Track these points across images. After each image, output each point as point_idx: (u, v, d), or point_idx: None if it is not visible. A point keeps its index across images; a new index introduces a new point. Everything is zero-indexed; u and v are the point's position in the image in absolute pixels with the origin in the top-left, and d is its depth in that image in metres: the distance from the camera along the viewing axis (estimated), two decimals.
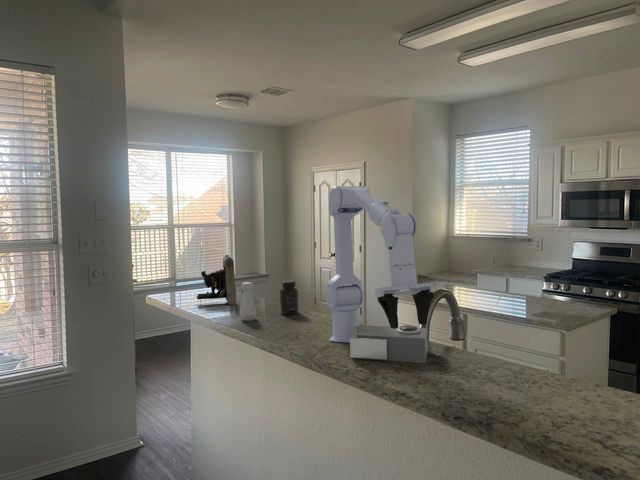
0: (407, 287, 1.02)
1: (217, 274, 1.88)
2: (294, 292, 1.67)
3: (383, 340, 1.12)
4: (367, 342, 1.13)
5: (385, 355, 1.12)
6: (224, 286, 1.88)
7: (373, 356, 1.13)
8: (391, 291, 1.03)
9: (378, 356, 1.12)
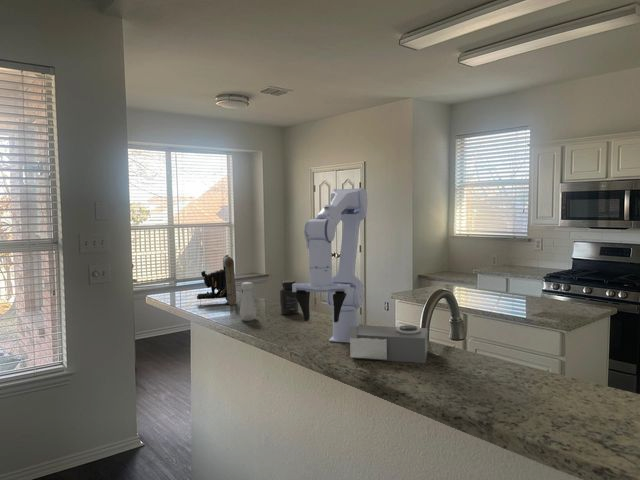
0: (313, 288, 1.13)
1: (217, 274, 1.88)
2: (294, 292, 1.67)
3: (383, 340, 1.12)
4: (367, 342, 1.13)
5: (385, 355, 1.12)
6: (224, 286, 1.88)
7: (373, 356, 1.13)
8: (306, 288, 1.16)
9: (378, 356, 1.12)
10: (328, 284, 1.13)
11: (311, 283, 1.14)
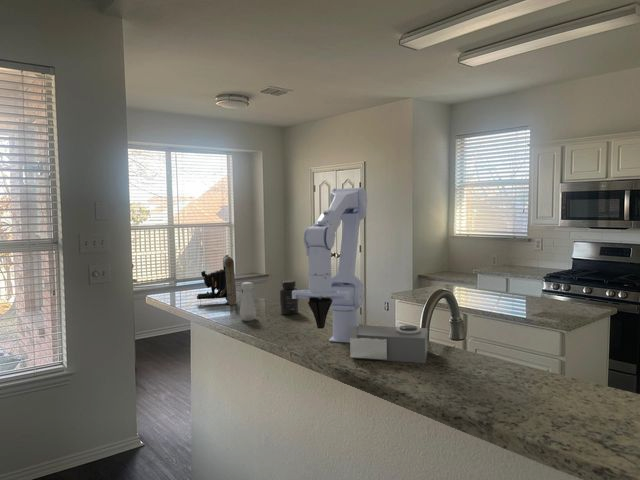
0: None
1: (217, 274, 1.88)
2: None
3: (383, 340, 1.12)
4: (367, 342, 1.13)
5: (385, 355, 1.12)
6: (224, 286, 1.88)
7: (373, 356, 1.13)
8: (305, 295, 1.17)
9: (378, 356, 1.12)
10: (327, 291, 1.14)
11: (310, 290, 1.14)
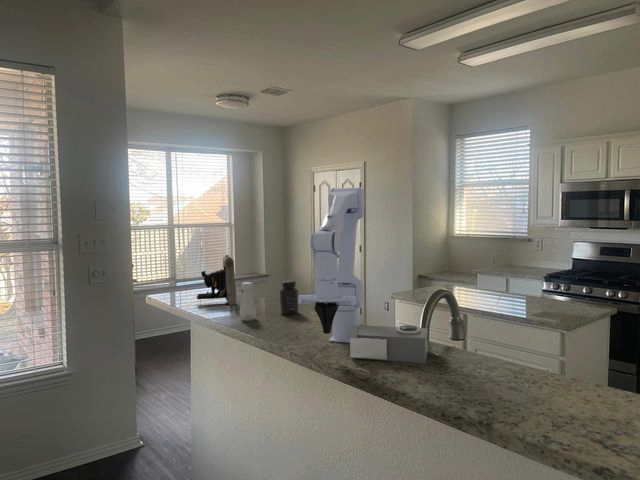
0: (318, 300, 1.13)
1: (217, 274, 1.88)
2: (294, 292, 1.67)
3: (383, 340, 1.12)
4: (367, 342, 1.13)
5: (385, 355, 1.12)
6: (224, 286, 1.88)
7: (373, 356, 1.13)
8: None
9: (378, 356, 1.12)
10: (334, 296, 1.13)
11: (317, 295, 1.14)
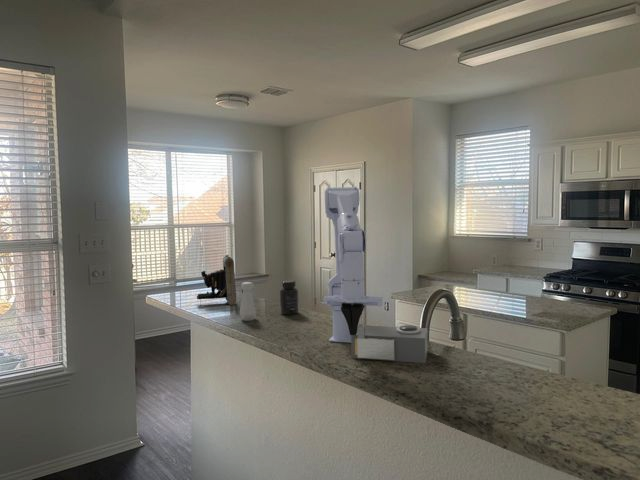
0: None
1: (217, 274, 1.88)
2: (294, 292, 1.67)
3: (390, 340, 1.11)
4: (374, 342, 1.12)
5: (392, 355, 1.11)
6: (224, 286, 1.88)
7: (381, 356, 1.12)
8: (337, 301, 1.15)
9: (386, 357, 1.12)
10: (361, 297, 1.12)
11: (343, 296, 1.12)
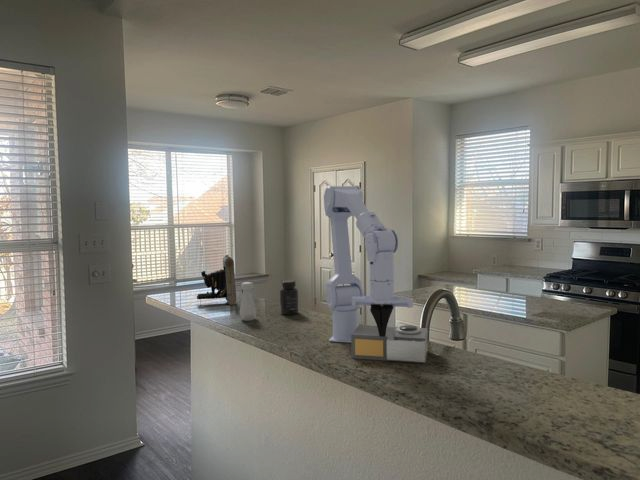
0: (375, 302, 1.09)
1: (217, 274, 1.88)
2: (294, 292, 1.67)
3: (421, 342, 1.09)
4: (404, 344, 1.10)
5: (423, 357, 1.09)
6: (224, 286, 1.88)
7: (411, 358, 1.10)
8: (366, 302, 1.13)
9: (416, 359, 1.10)
10: (391, 298, 1.10)
11: (373, 297, 1.10)
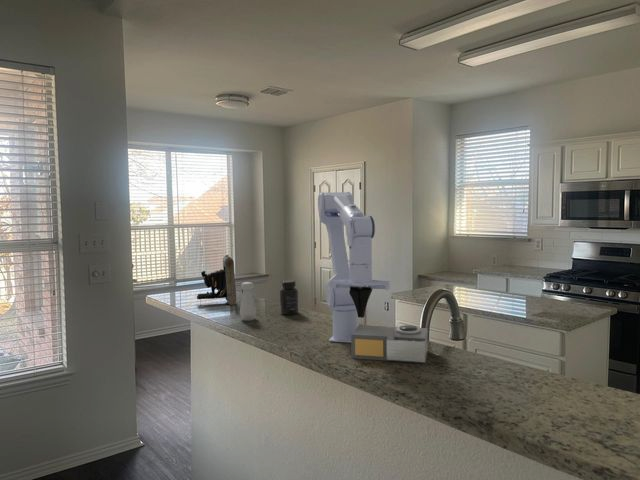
0: (353, 284, 1.15)
1: (217, 274, 1.88)
2: (294, 292, 1.67)
3: (421, 342, 1.09)
4: (404, 344, 1.10)
5: (423, 357, 1.09)
6: (224, 286, 1.88)
7: (411, 358, 1.10)
8: (346, 284, 1.18)
9: (416, 359, 1.10)
10: (369, 281, 1.15)
11: (352, 279, 1.16)
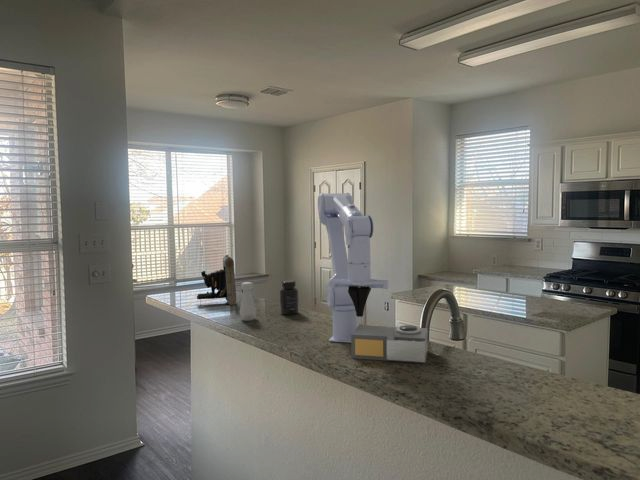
0: (352, 283, 1.16)
1: (217, 274, 1.88)
2: (294, 292, 1.67)
3: (421, 342, 1.09)
4: (404, 344, 1.10)
5: (423, 357, 1.09)
6: (224, 286, 1.88)
7: (411, 358, 1.10)
8: (344, 284, 1.19)
9: (416, 359, 1.10)
10: (367, 280, 1.16)
11: (350, 279, 1.16)
